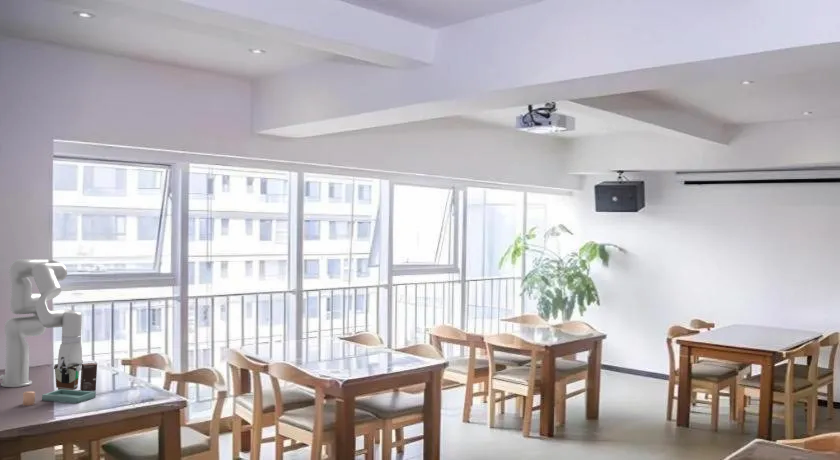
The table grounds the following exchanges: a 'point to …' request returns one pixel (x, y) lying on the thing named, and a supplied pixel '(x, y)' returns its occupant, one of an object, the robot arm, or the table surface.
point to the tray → (68, 396)
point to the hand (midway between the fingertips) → (69, 381)
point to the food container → (73, 377)
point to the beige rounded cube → (28, 398)
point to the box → (88, 376)
